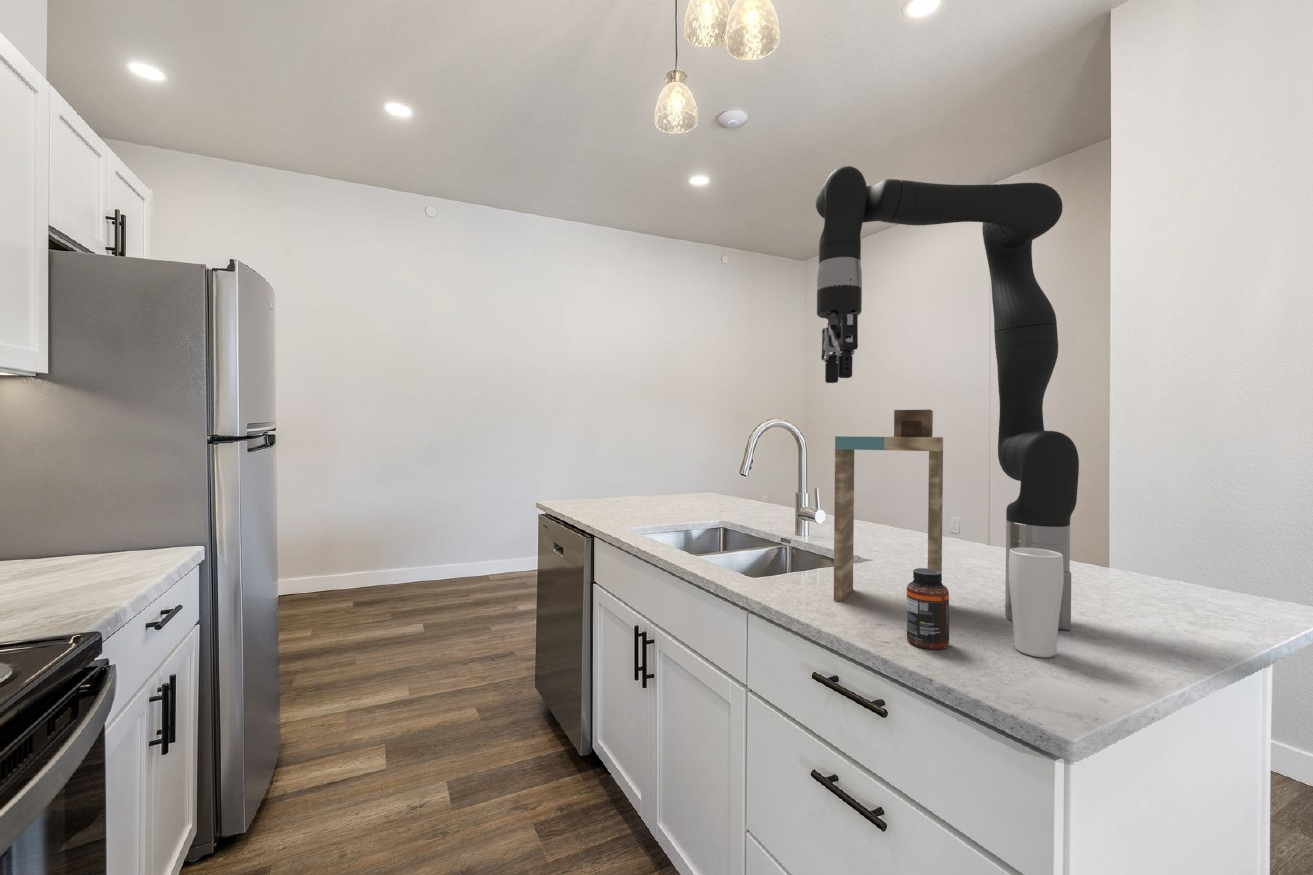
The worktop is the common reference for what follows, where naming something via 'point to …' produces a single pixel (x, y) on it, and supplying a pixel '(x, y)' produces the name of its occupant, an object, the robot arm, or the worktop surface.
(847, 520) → the oak stand
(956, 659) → the worktop surface
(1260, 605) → the worktop surface
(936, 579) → the supplement bottle
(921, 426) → the brown wooden block
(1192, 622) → the worktop surface
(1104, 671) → the worktop surface
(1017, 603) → the white tall cup
